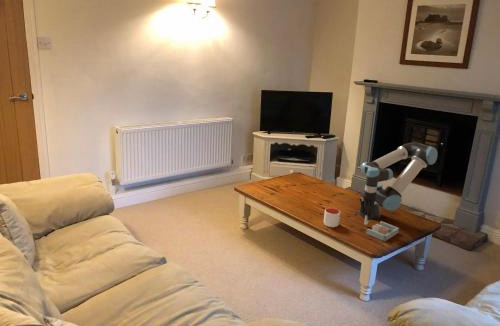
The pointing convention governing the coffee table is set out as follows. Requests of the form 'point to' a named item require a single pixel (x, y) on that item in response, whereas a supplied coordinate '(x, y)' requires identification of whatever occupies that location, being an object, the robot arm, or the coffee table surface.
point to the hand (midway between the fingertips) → (365, 223)
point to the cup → (331, 217)
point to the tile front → (383, 230)
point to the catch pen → (380, 236)
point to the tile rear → (376, 227)
